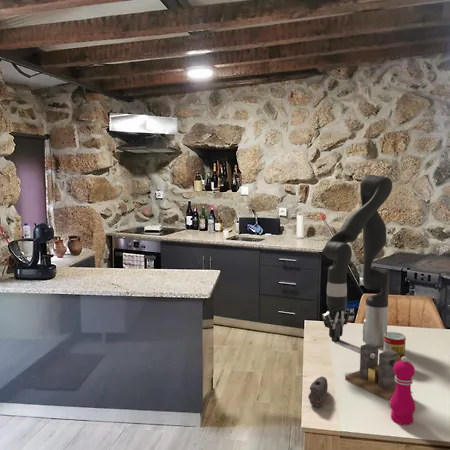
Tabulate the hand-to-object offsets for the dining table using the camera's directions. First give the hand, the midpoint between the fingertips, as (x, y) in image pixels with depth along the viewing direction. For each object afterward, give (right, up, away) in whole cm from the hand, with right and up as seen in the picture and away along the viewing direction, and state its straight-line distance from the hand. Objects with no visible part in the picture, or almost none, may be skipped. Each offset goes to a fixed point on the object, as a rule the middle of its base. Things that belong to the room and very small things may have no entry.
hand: (335, 336), depth 176 cm
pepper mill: (+11, -16, -37) cm, 42 cm away
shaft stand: (+11, -13, -15) cm, 23 cm away
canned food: (+23, -12, +1) cm, 26 cm away
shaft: (+5, -3, -6) cm, 9 cm away
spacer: (+11, -12, -15) cm, 22 cm away
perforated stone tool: (-11, -15, -24) cm, 31 cm away
